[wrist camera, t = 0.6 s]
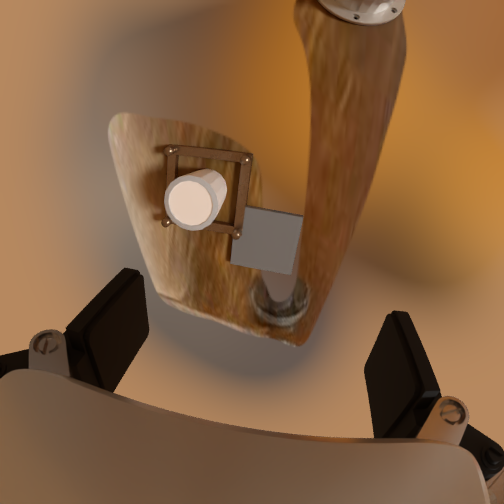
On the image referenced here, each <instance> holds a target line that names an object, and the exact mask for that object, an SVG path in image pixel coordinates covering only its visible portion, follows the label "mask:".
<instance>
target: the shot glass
mask: <svg viewBox="0 0 504 504" xmlns="http://www.w3.org/2000/svg"><path fill="white" fill-rule="evenodd" d="M226 192H227V187H226V182H225V180H224V179H223V177H222V176H221V175H220V174H219V173H217V172H216V171H214V170H210V169H202V170H198V171H195V172H192V173H189V174H186V175H183V176H180V177H178V178H177V179H175V180H174V181H172V182H171V183H170V185H169V186H168V188H167V190H166V191H165V197H164V204H165V208H166V212H167V214H168V215H169V217H170V218H171V220H172V221H173V222H174V223H175V224H177V225H178V226H180V227H181V228H184V229H188V230H191V231H192V230H202V229H203V228H205V227H207V226H209V225H210V224H211V223H212V222H213V220H214V219H215V217H216V216H217V214H218V212H219V210H220V208H221V205H222V203H223V201H224V199H225V197H226Z"/></svg>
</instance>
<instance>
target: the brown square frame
mask: <svg viewBox="0 0 504 504" xmlns="http://www.w3.org/2000/svg"><path fill="white" fill-rule="evenodd" d="M164 154H165V155H166V156H168V161H167V183H166V190H167V188H168V186H169V185H170V183H171V182H172V181H174V180H175V179H177V173H178V157H179V155H185V156H194V157H203V158H212V159H220V160H227V161H235V162H240V163H241V171H240V179H239V188H238V196H237V205H236V214H235V222H234V224H232V223H227V222H221V221H215V220H213V222H212V223H211V224H210V225H209V226H207V227H205V228H203V229H204V230H210V231H216V232H222V233H227V234H231V237H232V238H233V239H234V240H238V239H239V238H240V236H242V230H243V222H244V214H245V207H246V205H247V197H248V189H249V181H250V174H251V166H252V158H253V154H252V153H245V152H238V151H230V150H222V149H214V148H204V147H195V146H184V145H172V144H171V145H168V147H166V148H165V149H164ZM161 224H162V226H163V227H168V226H169V225H170V224H175V223H174V222H173V221H172V220H171V218H170V217H169V215H168V214H167V212H166V218H164V219H163V220H162V222H161ZM176 225H177V224H176Z"/></svg>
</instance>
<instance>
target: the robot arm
mask: <svg viewBox="0 0 504 504" xmlns="http://www.w3.org/2000/svg"><path fill="white" fill-rule="evenodd" d="M317 1H318V2H319V3H320V4H321V5H322V6H323V7H324V8H325V9H326V10H327V11H329V12H330V13H331V14H333V15H335V16H336V17H338V18H340V19H342V20H345V21H347V22H350V23H354V24H358V25H365V26H375V25H381V24H385V23H387V22H390V21H391V20H393V19H394V18H396V17H397V16H398V15H399V14H400V13H401V11H402V9H403V8H404V5H405V0H317ZM392 11H393V12H394V13H393V12H392ZM354 17H356V18H357V20H356V19H354ZM148 333H149V324H148V316H147V308H146V298H145V288H144V278H143V276H142V275H140V272H139V271H138V270H134V269H130V268H124V269H122V270H121V271H120V272H119V273H118V274H117V275H116V276H115V277H114V278H113V279H112V280H111V281H110V282H109V283H108V284H107V285H106V286H105V287H104V288H103V289H102V290H101V291H100V292H99V293H98V294H97V295H96V296H95V297H94V299H92V301H90V303H89V304H88V305H87V306H86V307H85V308H84V309H83V310H82V311H81V312H80V313H79V314H78V315H77V316H76V317H75V318H74V319H73V320H72V322H71V323H70V324H69V325H68V326H67V327H66V331H65V332H64V333H63V334H62V333H61V332H59V331H58V330H52V329H51V330H44V331H41V332H39V333H37V334H36V335H35V336H34V337H33V338H32V339H31V341H30V344H29V349H27V350H22V351H18V352H14V353H9V354H5V355H1V356H0V504H504V451H503V449H502V447H501V446H500V445H499V444H497V443H496V442H494V441H493V440H491V439H490V438H488V437H487V436H485V435H484V434H483V433H481V432H480V431H478V430H476V429H475V428H474V427H472V426H471V425H469V424H468V420H469V412H468V409H467V407H466V406H465V404H464V403H463V402H462V401H461V400H459V399H458V398H455V397H452V396H445V397H442V396H441V393H440V388H439V385H438V383H437V380H436V377H435V375H434V372H433V370H432V367H431V365H430V362H429V360H428V357H427V355H426V352H425V350H424V348H423V345H422V343H421V340H420V338H419V336H418V334H417V332H416V329H415V327H414V324H413V322H412V320H411V318H410V316H409V314H408V312H403V311H392V313H391V314H388V315H387V316H386V319H385V321H384V323H383V326H382V328H381V330H380V333H379V335H378V337H377V340H376V342H375V344H374V347H373V349H372V351H371V353H370V355H369V357H368V360H367V362H366V364H365V367H364V374H365V380H366V385H367V392H368V397H369V404H370V411H371V418H372V424H373V432H374V438H340V437H321V436H308V435H297V434H288V433H280V432H272V431H265V430H257V429H252V428H245V427H240V426H234V425H229V424H223V423H219V422H214V421H209V420H205V419H200V418H196V417H192V416H188V415H184V414H180V413H176V412H173V411H169V410H165V409H162V408H158V407H155V406H151V405H148V404H145V403H142V402H139V401H135V400H132V399H130V398H127V397H124V396H121V395H118V394H115V393H113V392H114V390H115V389H116V387H117V385H118V384H119V382H120V380H121V379H122V377H123V375H124V374H125V372H126V371H127V369H128V367H129V365H130V364H131V362H132V361H133V359H134V357H135V356H136V354H137V352H138V351H139V349H140V348H141V346H142V344H143V343H144V341H145V340H146V338H147V336H148Z"/></svg>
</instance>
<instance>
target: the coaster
mask: <svg viewBox="0 0 504 504" xmlns="http://www.w3.org/2000/svg"><path fill="white" fill-rule="evenodd" d="M302 221H303V215H298V214H292V213H287V212H281V211H276V210H270V209H265V208H259V207H253V206H247V205H246V207H245V214H244V222H243V230H242V236H240V238H239V239H238V240H234V239H233V243H232V252H231V262H230V264H235V265H240V266H245V267H251V268H256V269H261V270H267V271H272V272H278V273H283V274H288V275H291V272H292V267H293V263H294V259H295V254H296V249H297V244H298V240H299V235H300V230H301V226H302Z"/></svg>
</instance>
